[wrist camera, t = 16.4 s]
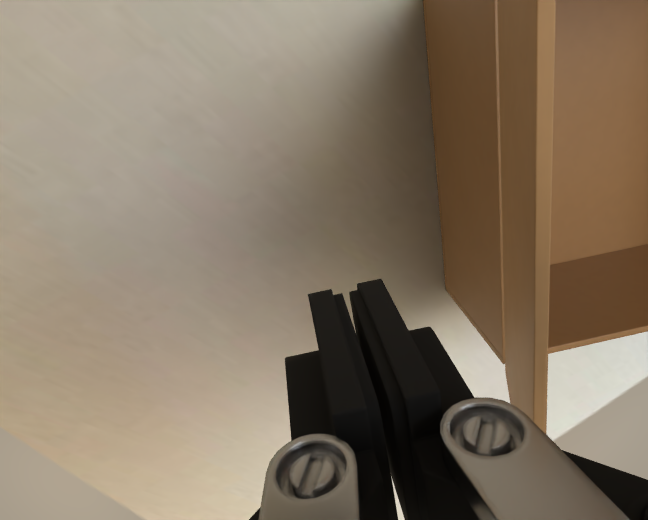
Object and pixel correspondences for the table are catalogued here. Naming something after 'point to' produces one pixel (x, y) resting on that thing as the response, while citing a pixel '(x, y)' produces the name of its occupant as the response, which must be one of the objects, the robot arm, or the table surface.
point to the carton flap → (526, 194)
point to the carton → (567, 167)
